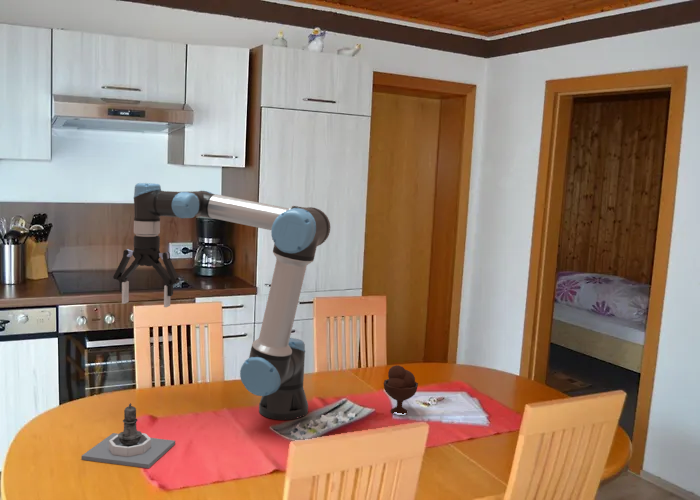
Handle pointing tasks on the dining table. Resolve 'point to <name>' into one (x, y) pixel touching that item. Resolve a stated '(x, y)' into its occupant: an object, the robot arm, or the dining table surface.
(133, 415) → the chess piece
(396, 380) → the ice cream bowl
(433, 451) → the dining table surface
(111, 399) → the dining table surface
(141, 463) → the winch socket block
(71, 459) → the dining table surface
